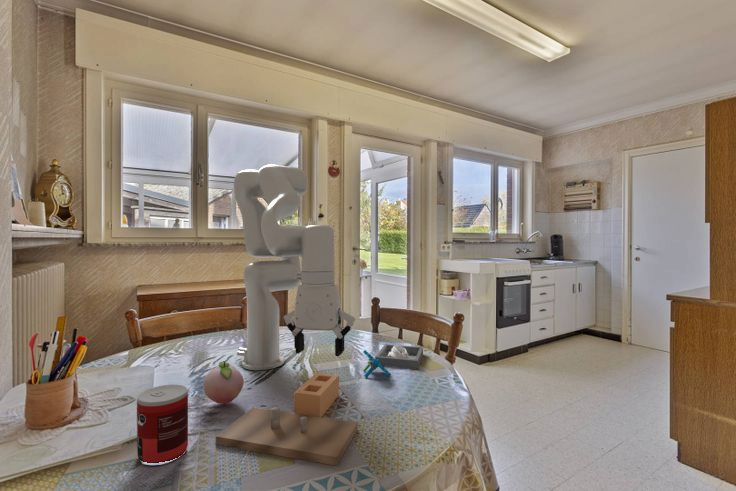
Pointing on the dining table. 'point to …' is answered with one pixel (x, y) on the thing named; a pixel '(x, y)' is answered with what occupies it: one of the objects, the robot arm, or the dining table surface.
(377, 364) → the gear
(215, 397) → the decorative fruit
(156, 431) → the canned food
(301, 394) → the block with square holes
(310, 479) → the dining table surface
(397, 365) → the frame
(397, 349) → the whipped cream
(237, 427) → the locating board
